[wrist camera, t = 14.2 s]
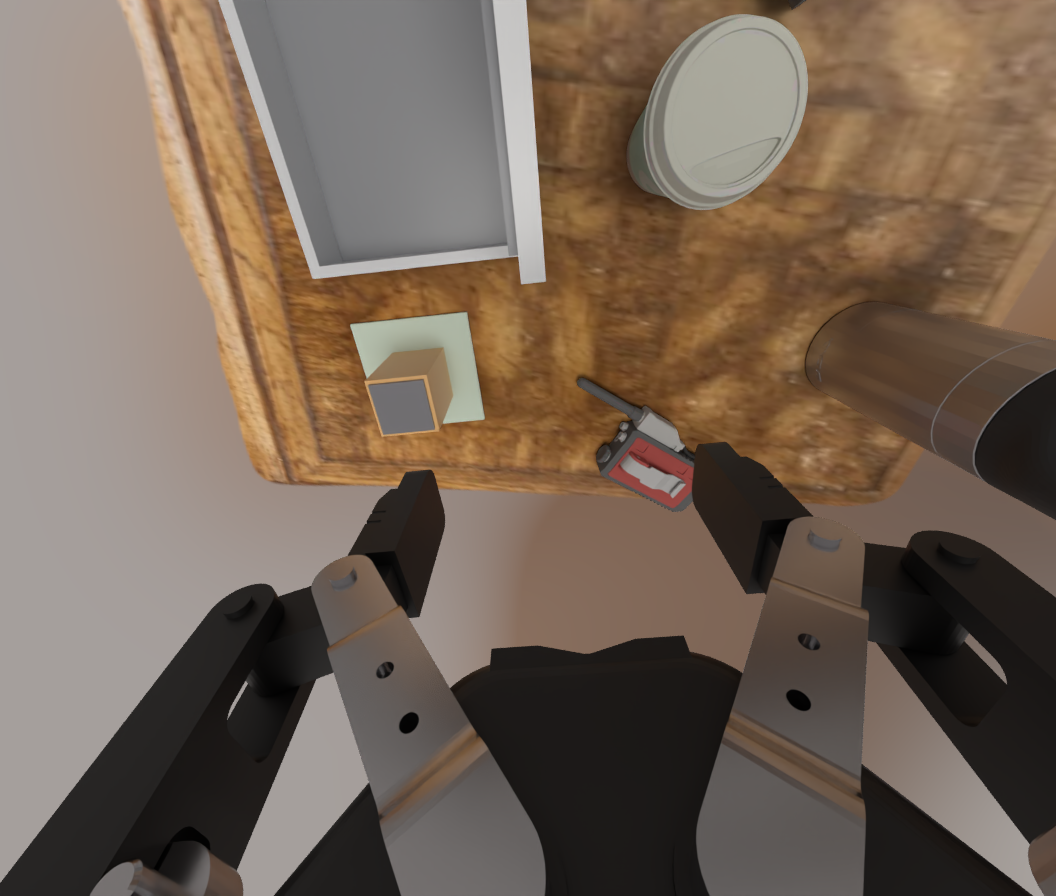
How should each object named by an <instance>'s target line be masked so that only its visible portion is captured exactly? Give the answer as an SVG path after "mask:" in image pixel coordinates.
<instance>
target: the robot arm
mask: <svg viewBox="0 0 1056 896" xmlns="http://www.w3.org/2000/svg"><path fill="white" fill-rule="evenodd" d="M806 373H807V376H808V378H809V381H810V382H811V383H812V384H813V386H814V387H816V388H817V389H819V390H820V391H822V392H824V393H826V394H827V395H829V396H831V397H833V398H835V399H837V400H838V401H840V402H842V403H844V404H845V405H847V406H849V407H851V408H852V409H854V410H856V411H858V412H860V413H861V414H863V415H865V416H867V417H869V418H870V419H872V420H874V421H876V422H878V423H879V424H881V425H883V426H885V427H887V428H888V429H890V430H892V431H894V432H896V433H898V434H899V435H901V436H903V437H905V438H907V439H908V440H910V441H912V442H914V443H916V444H917V445H919V446H921V447H923V448H925V449H926V450H929V451H930V452H932V453H934V454H936V455H937V456H939V457H941V458H943V459H945V460H947V461H949V462H951V463H952V464H954V465H956V466H958V467H959V468H962V469H963V470H965V471H967V472H968V473H970V474H972V475H974V476H976V477H977V478H979V479H981V480H983V481H985V482H987V483H988V484H990V485H992V486H993V487H995V488H997V489H999V490H1001V491H1003V492H1005V493H1006V494H1008V495H1010V496H1012V497H1014V498H1016V499H1018V500H1020V501H1022V502H1024V503H1026V504H1027V505H1029V506H1031V507H1033V508H1035V509H1037V510H1038V511H1040V512H1042V513H1044V514H1046V515H1048V516H1049V517H1051V518H1053V519H1055V520H1056V341H1055V340H1051V339H1046V338H1042V337H1037V336H1032V335H1028V334H1024V333H1019V332H1014V331H1010V330H1005V329H1001V328H996V327H992V326H987V325H982V324H978V323H973V322H969V321H964V320H960V319H955V318H951V317H946V316H941V315H937V314H932V313H928V312H923V311H919V310H915V309H910V308H906V307H901V306H896V305H892V304H887V303H881V302H866V303H861V304H858V305H855V306H852V307H850V308H848V309H846V310H844V311H842V312H840V313H839V314H838V315H836V316H835V317H833V318H832V319H831V320H830V321H829V322H828V323H827V324H825V325H824V326H823V328H822V329H821V330H820V331H819V333H818V334H817V335H816V337H815V338H814V340H813V342H812V344H811V345H810V348H809V351H808V354H807V358H806ZM692 498H693V502H694V505H695V508H696V510H697V511H698V513H699V515H700V516H701V518H702V520H703V521H704V523H705V525H706V527H707V528H708V530H709V531H710V533H711V535H712V537H713V538H714V540H715V542H716V543H717V545H718V547H719V549H720V550H721V552H722V554H723V555H724V557H725V559H726V560H727V562H728V564H729V565H730V567H731V569H732V570H733V572H734V574H735V576H736V577H737V579H738V581H739V582H740V584H741V586H742V587H743V589H744V591H745V593H746V594H754V593H765V594H766V598H765V601H764V604H763V608H762V611H761V614H760V618H759V621H758V624H757V628H756V631H755V634H754V638H753V641H752V644H751V648H750V651H749V654H748V658H747V661H746V664H745V667H744V671H743V673H742V672H740V671H738V670H737V669H735V668H733V667H731V666H729V665H728V664H726V663H724V662H721V661H719V660H716V659H714V658H711V657H709V656H705V655H702V654H698V653H694V652H690V651H689V648H688V646H687V643H686V641H685V638H684V636H672V637H671V636H670V637H656V638H641V639H634V640H631V641H628V642H625V643H622V644H618V645H615V646H612V647H609V648H606V649H603V650H600V651H597V652H594V653H591V654H582V653H576V652H570V651H565V650H559V649H554V648H548V647H543V646H525V647H510V648H496V649H492V651H491V662H490V665H488V666H485V667H482V668H480V669H478V670H476V671H474V672H472V673H470V674H469V675H467V676H465V677H464V678H462V679H461V680H460V681H458V682H457V683H456V684H454V685H453V686H452V687H451V688H449V686H448V684H447V683H446V681H445V679H444V678H443V676H442V674H441V673H440V671H439V669H438V668H437V666H436V664H435V662H434V661H433V659H432V657H431V656H430V654H429V652H428V650H427V649H426V647H425V646H424V644H423V642H422V640H421V639H420V637H419V635H418V633H417V632H416V630H415V628H414V627H413V625H412V624H411V622H410V620H409V618H414V617H419V616H420V613H421V609H422V606H423V602H424V598H425V595H426V592H427V588H428V584H429V581H430V577H431V574H432V571H433V567H434V564H435V560H436V557H437V553H438V550H439V546H440V542H441V539H442V535H443V532H444V527H445V514H444V508H443V505H442V501H441V497H440V494H439V490H438V486H437V483H436V479H435V476H434V473H433V471H432V470H422V471H412V472H406V473H405V475H404V477H403V479H402V481H401V483H400V485H399V487H398V489H391V490H389V491H388V492H387V493H386V494H385V495H384V496H383V497H382V498H381V499H379V501H378V502H377V504H376V506H375V507H374V509H373V511H372V514H371V515H370V516H369V518H368V520H367V524H365V525H364V527H363V529H362V531H361V533H360V535H359V536H358V538H357V540H356V542H355V544H354V545H353V547H352V549H351V551H350V552H349V554H348V556H346V557H343V558H340V559H338V560H336V561H334V562H332V563H330V564H329V565H327V566H326V567H325V568H324V569H322V570H321V571H320V572H319V574H318V575H317V576H316V577H315V579H314V581H313V583H312V586H310V587H307V588H304V589H301V590H297V591H294V592H291V593H288V594H285V595H282V596H279V597H278V596H277V594H276V592H275V591H274V589H273V588H272V587H271V586H270V585H267V584H254V585H250V586H247V587H244V588H241V589H239V590H237V591H235V592H233V593H231V594H229V595H228V596H226V597H225V598H224V599H222V600H221V601H220V602H219V603H217V604H216V605H215V606H214V607H213V608H212V609H211V611H210V612H209V613H208V614H207V616H206V617H205V618H204V619H203V621H202V622H201V623H200V625H199V626H198V627H197V629H196V630H195V631H194V632H193V634H192V635H191V636H190V638H189V639H188V640H187V642H186V643H185V644H184V645H183V647H182V648H181V649H180V651H179V652H178V653H177V655H176V656H175V657H174V658H173V660H172V661H171V662H170V664H169V665H168V666H167V668H166V669H165V670H164V671H163V673H162V674H161V675H160V677H159V678H158V679H157V680H156V682H155V683H154V684H153V686H152V687H151V688H150V690H149V691H148V692H147V693H146V695H145V696H144V697H143V699H142V700H141V701H140V703H139V704H138V705H137V706H136V708H135V709H134V710H133V712H132V713H131V714H130V716H129V717H128V718H127V720H126V721H125V722H124V723H123V725H122V726H121V727H120V728H119V730H118V731H117V732H116V734H115V735H114V737H113V738H112V739H111V740H110V742H109V743H108V744H107V745H106V747H105V748H104V749H103V751H102V752H101V753H100V754H99V756H98V757H97V759H96V760H95V761H94V762H93V763H92V765H91V766H90V767H89V769H88V770H87V771H86V773H85V774H84V775H83V776H82V778H81V779H80V780H79V782H78V783H77V784H76V786H75V787H74V788H73V790H72V791H71V792H70V793H69V795H68V796H67V797H66V798H65V800H64V801H63V802H62V804H61V805H60V806H59V808H58V809H57V810H56V811H55V813H54V814H53V815H52V817H51V818H50V819H49V821H48V822H47V823H46V825H45V826H44V827H43V828H42V830H41V831H40V832H39V834H38V835H37V836H36V838H35V839H34V840H33V841H32V843H31V844H30V845H29V846H28V848H27V849H26V850H25V852H24V853H23V854H22V856H21V857H20V858H19V859H18V861H17V862H16V863H15V865H14V866H13V867H12V869H11V870H10V871H9V872H8V874H7V875H6V876H5V878H4V879H3V880H2V882H1V883H0V896H243V883H242V880H241V877H240V875H239V873H238V872H237V868H238V866H239V864H240V861H241V859H242V856H243V854H244V852H245V849H246V847H247V844H248V842H249V840H250V837H251V835H252V832H253V830H254V828H255V825H256V823H257V820H258V818H259V815H260V813H261V811H262V808H263V806H264V803H265V801H266V799H267V796H268V794H269V791H270V789H271V787H272V784H273V782H274V780H275V777H276V775H277V772H278V770H279V768H280V765H281V763H282V760H283V758H284V756H285V753H286V751H287V748H288V746H289V743H290V741H291V739H292V736H293V734H294V731H295V729H296V727H297V724H298V722H299V719H300V717H301V715H302V712H303V710H304V707H305V705H306V703H307V700H308V698H309V695H310V693H311V691H312V688H313V686H314V683H315V681H316V679H317V678H320V677H322V676H325V675H328V674H331V673H333V672H334V675H335V678H336V681H337V684H338V687H339V690H340V694H341V697H342V700H343V703H344V706H345V709H346V712H347V715H348V718H349V721H350V724H351V728H352V731H353V734H354V737H355V740H356V743H357V746H358V749H359V752H360V756H361V759H362V762H363V765H364V768H365V771H366V774H367V777H368V780H369V783H368V784H367V785H366V787H365V788H364V789H363V790H362V792H361V793H360V794H359V795H358V796H357V797H356V799H355V800H354V801H353V802H352V803H351V804H350V806H349V807H348V808H347V809H346V810H345V812H344V813H343V814H342V815H341V816H340V818H339V819H338V820H337V821H336V822H335V824H334V825H333V826H332V827H331V828H330V829H329V831H328V832H327V833H326V834H325V835H324V837H323V838H322V839H321V840H320V841H319V843H318V844H317V845H316V846H315V847H314V849H313V850H312V851H311V852H310V854H309V855H308V856H307V857H306V858H305V859H304V860H303V862H302V863H301V864H300V865H299V866H298V868H297V869H296V870H295V871H294V872H293V874H292V875H291V876H290V877H289V878H288V880H287V881H286V882H285V883H284V884H283V885H282V887H281V888H280V889H279V890H278V891H277V893H276V894H275V895H274V896H1033V895H1031V894H1030V893H1029V892H1027V891H1026V890H1025V889H1023V888H1022V887H1021V886H1020V885H1018V884H1017V883H1016V882H1014V881H1013V880H1012V879H1011V878H1009V877H1008V876H1007V875H1005V874H1004V873H1003V872H1001V871H1000V870H999V869H998V868H996V867H995V866H994V865H992V864H991V863H990V862H988V861H987V860H986V859H985V858H983V857H982V856H981V855H979V854H978V853H977V852H975V851H974V850H973V849H972V848H970V847H969V846H968V845H966V844H965V843H964V842H962V841H961V840H960V839H959V838H957V837H956V836H955V835H953V834H952V833H951V832H950V831H948V830H947V829H946V828H944V827H943V826H942V825H940V824H939V823H938V822H936V821H935V820H934V819H932V818H931V817H930V816H929V815H927V814H926V813H925V812H924V811H922V810H921V809H919V808H918V807H917V806H916V805H914V804H913V803H912V802H910V801H909V800H908V799H906V798H905V797H904V796H903V795H901V794H900V793H899V792H898V791H896V790H895V789H894V788H892V787H891V786H890V785H889V784H887V783H886V782H885V781H883V780H882V779H881V778H879V777H878V776H877V775H876V774H874V773H873V772H871V771H870V770H869V769H868V768H866V767H865V766H864V765H863V764H861V762H862V743H863V742H862V741H863V723H864V703H865V684H866V664H867V644H868V641H872V642H876V643H877V644H878V646H879V647H880V648H881V649H882V651H883V652H884V654H885V655H886V656H887V657H888V659H889V660H890V661H891V663H892V664H893V665H894V667H895V668H896V669H897V671H898V672H899V673H900V675H901V676H902V677H903V678H904V680H905V681H906V682H907V684H908V685H909V686H910V688H911V689H912V690H913V692H914V693H915V694H916V695H917V697H918V698H919V699H920V701H921V702H922V703H923V705H924V706H925V707H926V709H927V710H928V711H929V712H930V714H931V715H932V717H933V718H934V719H935V720H936V722H937V723H938V724H939V726H940V727H941V728H942V730H943V731H944V732H945V733H946V735H947V736H948V738H949V739H950V740H951V741H952V743H953V744H954V745H955V747H956V748H957V749H958V751H959V752H960V753H961V755H962V756H963V757H964V759H965V760H966V761H967V762H968V764H969V765H970V766H971V768H972V769H973V770H974V771H975V773H976V774H977V776H978V777H979V778H980V779H981V781H982V782H983V783H984V785H985V786H986V787H987V789H988V790H989V791H990V793H991V794H992V795H993V796H994V798H995V799H996V801H997V802H998V803H999V804H1000V806H1001V807H1002V808H1003V810H1004V811H1005V812H1006V814H1007V815H1008V816H1009V817H1010V819H1011V820H1012V821H1013V823H1014V824H1015V826H1016V827H1017V828H1018V829H1019V831H1020V832H1021V833H1022V835H1023V836H1024V837H1025V839H1026V840H1027V841H1028V842H1029V844H1030V846H1029V850H1028V858H1029V865H1030V867H1031V871H1032V874H1033V876H1034V878H1035V880H1036V882H1037V884H1038V886H1039V888H1040V889H1041V891H1042V893H1043V894H1044V896H1056V597H1054V596H1053V595H1052V594H1050V593H1049V592H1048V591H1046V590H1045V589H1044V588H1042V587H1041V586H1040V585H1038V584H1037V583H1036V582H1034V581H1033V580H1032V579H1030V578H1029V577H1028V576H1026V575H1025V574H1024V573H1022V572H1021V571H1020V570H1018V569H1017V568H1016V567H1014V566H1013V565H1012V564H1010V563H1009V562H1008V561H1006V560H1005V559H1004V558H1002V557H1001V556H1000V555H998V554H997V553H996V552H994V551H993V550H991V549H990V548H988V547H986V546H985V545H982V544H981V543H978V542H976V541H974V540H971V539H969V538H967V537H964V536H960V535H957V534H953V533H949V532H943V531H921V532H917V533H916V534H914V535H913V536H912V537H911V539H910V541H909V543H908V545H907V547H906V548H901V547H893V546H886V545H877V544H870V543H864V542H863V540H862V539H861V537H860V536H859V535H858V534H857V533H855V532H854V531H853V530H851V529H850V528H848V527H847V526H845V525H842V524H840V523H838V522H835V521H833V520H829V519H825V518H820V517H813V515H811V513H810V512H809V511H807V509H805V507H804V506H803V505H802V504H801V503H800V502H799V501H798V500H797V499H796V498H795V497H794V496H793V495H792V494H791V493H790V492H789V491H788V490H787V489H786V488H785V487H784V488H783V485H782V484H781V483H780V482H779V481H778V480H777V479H776V478H774V476H773V475H772V474H771V473H770V472H769V471H768V470H767V469H766V468H765V467H764V466H763V465H762V464H760V463H758V462H756V461H754V460H752V459H750V458H748V457H740V456H739V455H738V454H737V453H736V452H735V451H734V450H733V448H732V447H731V446H730V445H729V444H728V443H726V442H718V443H708V444H699V445H698V446H697V448H696V451H695V460H694V470H693V480H692ZM969 633H970V634H971V635H972V636H973V637H974V638H975V639H976V640H977V641H978V642H979V643H980V644H981V645H982V646H983V647H984V648H985V649H986V650H987V651H988V652H989V653H990V654H991V655H992V656H993V657H994V658H995V659H996V660H997V662H998V663H999V664H1000V666H1001V667H1002V669H1003V671H1004V673H1005V676H1006V679H1007V684H1006V683H1004V681H1003V680H1002V679H1000V677H999V676H998V675H997V674H996V673H995V672H994V671H993V670H992V669H991V668H990V667H989V666H988V665H987V664H986V663H985V662H984V661H983V660H982V659H981V658H980V657H979V656H978V655H977V654H976V653H975V652H974V651H973V650H972V649H971V648H970V647H969V646H968V645H967V644H966V643H965V641H964V640H965V638H966V637H967V636H968V634H969ZM245 681H247V683H248V685H247V686H246V688H245V690H244V692H243V694H242V695H241V697H240V699H239V701H238V702H237V704H236V706H235V708H234V709H233V711H232V713H231V715H230V717H229V718H228V713H229V710H230V708H231V705H232V703H233V702H234V700H235V698H236V696H237V695H238V693H239V691H240V689H241V688H242V686H243V684H244V682H245ZM227 718H228V720H227Z"/></svg>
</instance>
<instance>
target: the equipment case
mask: <svg viewBox="0 0 1056 896" xmlns="http://www.w3.org/2000/svg"><path fill="white" fill-rule="evenodd" d="M219 3H220V6H221V9H222V12H223V15H224V18H225V21H226V24H227V27H228V30H229V33H230V36H231V39H232V42H233V44H234V47H235V50H236V53H237V56H238V59H239V62H240V65H241V68H242V71H243V74H244V77H245V80H246V83H247V86H248V89H249V92H250V95H251V98H252V101H253V103H254V106H255V109H256V112H257V115H258V118H259V121H260V124H261V127H262V130H263V133H264V136H265V139H266V142H267V145H268V148H269V151H270V154H271V157H272V160H273V163H274V165H275V168H276V171H277V174H278V177H279V180H280V183H281V186H282V189H283V192H284V195H285V198H286V201H287V204H288V207H289V210H290V213H291V216H292V219H293V222H294V225H295V227H296V230H297V233H298V236H299V239H300V242H301V245H302V248H303V251H304V254H305V257H306V260H307V263H308V266H309V269H310V272H311V275H312V278H313V279H318V278H327V277H336V276H345V275H354V274H363V273H372V272H381V271H390V270H399V269H408V268H417V267H426V266H436V265H445V264H454V263H463V262H472V261H481V260H490V259H499V258H508V257H517V256H518V258H519V268H520V278H521V284H528V283H537V282H546V276H545V262H544V248H543V234H542V220H541V206H540V191H539V177H538V163H537V149H536V135H535V121H534V106H533V92H532V78H531V64H530V50H529V36H528V22H527V7H526V0H219Z"/></svg>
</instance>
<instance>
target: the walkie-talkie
mask: <svg viewBox="0 0 1056 896" xmlns="http://www.w3.org/2000/svg"><path fill="white" fill-rule="evenodd" d="M577 385H578V386H579V387H580V388H582V389H583V390H585V391H587V392H589V393H590V394H592V395H594V396H596V397H597V398H599V399H601V400H603V401H604V402H606V403H608V404H610V405H611V406H613V407H615V408H617V409H618V410H620V411H622V412H624V413H625V414H627V415H628V417H629V418H631V419H633V420H632V421H628V422H626V423H625V422H622V423H621V424H620V426H619V428H620V429H621V430H620V432H619V433H618V434H617V436H616V437H615V438H614V439H613V441H612V442H611V443H610V445H609V446H608V445H603V446H602V447H601V448H600V449H599V450H598V453H597V455H596V460H597V464H598V467H599V470H600V473H601V475H602V476H603V477H605V478H607V479H609V480H611V481H613V482H615V483H617V484H619V485H621V486H623V487H625V488H627V489H629V490H631V491H634V492H635V493H638V494H639V495H642V496H643V497H646V499H650V501H653V502H654V503H657V504H658V505H661V506H662V507H664V508H667V509H668V510H671V511H672V512H678V511H683V510H684V509H685V508H686V507H687V506H688V505H689V504H690V503H691V502H692V501H693V498H692V480H693V470H694V460H695V455H694V454H692V453H691V452H689V451H687V449H686V447H685V445H684V443H683V442H682V441H681V440H680V439H679V435H678V431H677V429H676V428H675V427H674V425H673V424H672V423H671V422H669V421H668V420H666V419H664V418H663V417H661V416H659V415H658V414H656V413H654V412H653V411H652V410H651V409H650V408H648V407H647V406H644V407H643V408H642V409H639V408H637V407H636V406H631V405H630V404H628V403H626V402H624V401H623V400H621V399H619V398H618V397H616V396H614V395H612V394H611V393H609V392H607V391H606V390H604V389H602V388H600V387H599V386H597V385H595V384H594V383H592V382H590V381H588V380H587V379H585V378H580V379H578V381H577ZM682 450H683V451H682Z"/></svg>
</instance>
